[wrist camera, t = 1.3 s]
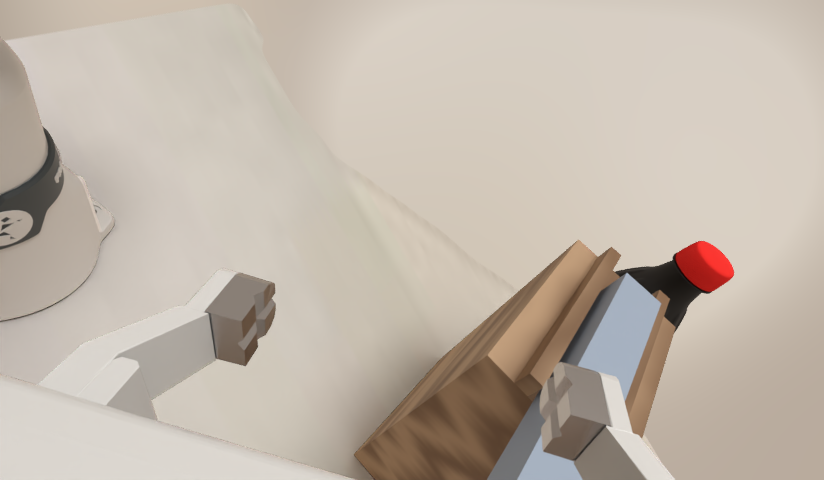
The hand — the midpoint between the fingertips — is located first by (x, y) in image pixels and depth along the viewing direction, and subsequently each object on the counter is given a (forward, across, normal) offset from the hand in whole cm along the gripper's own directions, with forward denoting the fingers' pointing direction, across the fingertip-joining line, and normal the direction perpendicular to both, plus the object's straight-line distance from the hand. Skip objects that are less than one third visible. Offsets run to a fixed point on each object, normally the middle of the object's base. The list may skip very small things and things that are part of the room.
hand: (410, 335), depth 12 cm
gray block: (+8, -10, +11) cm, 17 cm away
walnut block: (+18, -6, +36) cm, 40 cm away
